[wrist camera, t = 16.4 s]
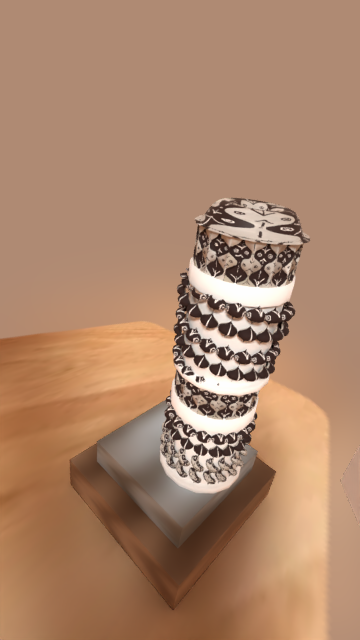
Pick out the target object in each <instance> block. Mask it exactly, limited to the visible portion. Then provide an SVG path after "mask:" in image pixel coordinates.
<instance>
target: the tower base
mask: <svg viewBox="0 0 360 640" xmlns="http://www.w3.org/2000/svg"><path fill="white" fill-rule="evenodd" d="M167 408H168V405H167V404H166V400H165V401H163V402H161V403H160V404H158V405H156V406H155V407H153V408H151V409H150V410H148V411H147V412H145V413H143V414H142V415H140V416H138V417H137V418H135V419H133V420H132V421H130V422H128V423H127V424H125V425H123V426H122V427H120V428H118V429H117V430H115V431H114V432H112V433H110V434H109V435H107V436H105V437H104V438H102V439H100V440H99V441H97V443H96V444H95V445H93V446H92V447H90V448H88V449H87V450H85V451H83V452H82V453H80V454H78V455H77V456H75V457H74V458H72V459H70V478H71V485H72V486H73V488H74V489H75V490H76V491H77V493H78V494H79V495H80V496H81V497H82V499H83V500H84V501H85V502H86V504H87V505H88V506H89V507H90V509H91V510H92V511H93V512H94V513H95V515H96V516H97V517H98V518H99V520H100V521H101V522H102V523H103V525H104V526H105V527H106V528H107V529H108V531H109V532H110V533H111V534H112V536H113V537H114V538H115V539H116V541H117V542H118V543H119V544H120V545H121V547H122V548H123V549H124V550H125V552H126V553H127V554H128V555H129V557H130V558H131V559H132V560H133V561H134V563H135V564H136V565H137V566H138V568H139V569H140V570H141V571H142V573H143V574H144V575H145V576H146V577H147V579H148V580H149V581H150V582H151V584H152V585H153V586H154V587H155V588H156V590H157V591H158V592H159V593H160V595H161V596H162V597H163V598H164V600H165V601H166V602H167V603H168V604H169V606H170V607H171V608H172V609H173V610H174V608H175V607H176V606H177V605H178V603H179V602H180V601H181V600H182V598H183V597H184V596H185V595H186V594H187V592H188V591H189V590H190V589H191V587H192V586H193V585H194V584H195V583H196V581H197V580H198V579H199V578H200V576H201V575H202V574H203V573H204V572H205V570H206V569H207V568H208V567H209V565H210V564H211V563H212V562H213V560H214V559H215V558H216V557H217V556H218V554H219V553H220V552H221V551H222V549H223V548H224V547H225V546H226V545H227V543H228V542H229V541H230V540H231V538H232V537H233V536H234V535H235V534H236V532H237V531H238V530H239V529H240V527H241V526H242V525H243V524H244V522H245V521H246V520H247V519H248V518H249V516H250V515H251V514H252V513H253V511H254V510H255V509H256V508H257V507H258V505H259V504H260V503H261V502H262V500H263V499H264V498H265V497H266V495H267V494H268V491H269V489H270V486H271V484H272V481H273V478H274V476H275V473H276V471H275V470H273V469H272V468H270V467H269V466H268V465H266V464H265V463H264V462H262V461H261V460H260V459H258V458H257V457H256V455H257V452H258V451H256V450H255V449H254V448H252V447H251V446H250V445H245V447H244V449H246V450H247V455H246V456H242V455H241V456H240V457H241V460H242V461H243V463H244V465H243V466H242V467H241V468H240V473H239V477H238V478H237V480H236V481H235V482H234V483H233V484H232V485H231V486H230V487H229V488H228V489H225V490H222V491H220V492H217V493H214V494H208V493H195V492H192V491H190V490H187V489H185V488H182V487H180V486H178V485H177V484H176V483H175V482H174V481H173V480H172V479H171V478H170V477H169V476H167V474H166V472H165V470H164V468H163V466H162V464H161V462H160V446H161V440H160V438H161V434H162V433H163V431H162V424H163V422H164V421H165V420H166V417H165V415H164V411H165V410H166V409H167Z"/></svg>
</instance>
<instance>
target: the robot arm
mask: <svg viewBox="0 0 360 640" xmlns="http://www.w3.org/2000/svg"><path fill="white" fill-rule="evenodd" d="M340 481H341V484H342V486H343V488H344V491H345V493H346V495H347V498H348V500H349V503H350V505H351V507H352V510H353V512H354V514H355V517H356V519H357V521H358V524H359V526H360V445H359V447H358V449H357V451H356V453H355V454H354V456H353V458H352V460H351V462H350V463H349V465H348V467H347V469H346V471H345V473H344V474H343V476H342V478H341V480H340Z"/></svg>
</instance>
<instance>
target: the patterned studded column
mask: <svg viewBox="0 0 360 640" xmlns="http://www.w3.org/2000/svg"><path fill="white" fill-rule="evenodd" d="M195 220H196V223H197V224H198V231H197V235H196V242H195V249H194V256H193V257H192V258H191V259H190V267H189V268H188V269H187V268H186V270H188V271H189V273H188V276H187V273H182V274H180V276H181V277H182V278H183V279H182V284H180V285H178V287H177V291H178V293H179V294H180V296H179V297H178V301H179V309H177V311H176V317H177V318H178V323H177V324H176V325H175V326H174V331H175V333H176V334H177V335H176V336H175V338H174V340H175V342H176V344H177V345H175V346H174V347H173V356H174V366H175V367H176V375H175V378H174V380H173V382H172V389H171V391H170V395H171V396H168V397H167V398H166V404H167V405H168V408H167V409H166V410H165V411H164V415H165V417H166V420H165V421H164V422H163V424H162V431H163V433H162V434H161V438H160V440H161V446H160V462H161V464H162V466H163V468H164V470H165V472H166V474H167V476H169V477H170V478H171V479H172V480H173V481H174V482H175V483H176V484H177V485H178V486H180V487H182V488H185V489H187V490H190V491H192V492H195V493H208V494H214V493H217V492H220V491H222V490H225V489H228V488H229V487H230V486H231V485H232V484H233V483H234V482H235V481H236V480H237V478H238V477H239V473H240V468H241V467H242V466H243V465H244V463H243V461H242V460H241V457H240V456H241V455H242V456H246V455H247V450H246V449H244V447H245V445H248V444H249V443H250V441H251V434H250V432H252V431H253V430H254V429H255V422H254V420H256V418H257V413H256V412H255V411H256V407H257V403H258V399H259V398H258V394H259V390H260V389H261V388H263V387H264V386H265V385H266V384H267V383H268V380H269V375H270V374H271V373H273V372H274V370H275V367H274V364H275V359H276V357H277V356H278V355H279V354H280V348H279V343H278V342H277V341H279V340H282V339H283V337H284V336H286V335H287V334H288V333H289V329H288V324H287V322H286V321H289V320H290V319H291V318H292V317H293V316H294V314H295V309H294V308H293V305H292V304H291V303H290V302H289V299H290V296H291V293H292V290H293V286H294V283H295V276H294V274H295V271H296V267H297V264H298V261H299V258H300V254H301V251H302V248H303V244H304V243H307V242H309V241H310V237H309V236H308V235H306V234H305V233H303V231H302V228H301V224H300V220H299V217H298V215H297V214H296V213H295V212H294V211H292V210H290V209H289V208H286V207H283V206H280V205H276V204H272V203H268V202H262V201H256V200H250V199H240V198H223V199H220V200H218V201H217V202H215V203H214V204H213V205H212V206H211V207H210V208H209V209H208V211H207V212H206V213H205V215H200V216H198V217H196V218H195ZM190 284H191V286H190V287H189V285H190ZM186 288H188V289H189V290H190V293H186ZM184 311H187V312H186V314H184ZM182 330H183V331H184V332H183V334H182Z"/></svg>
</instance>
